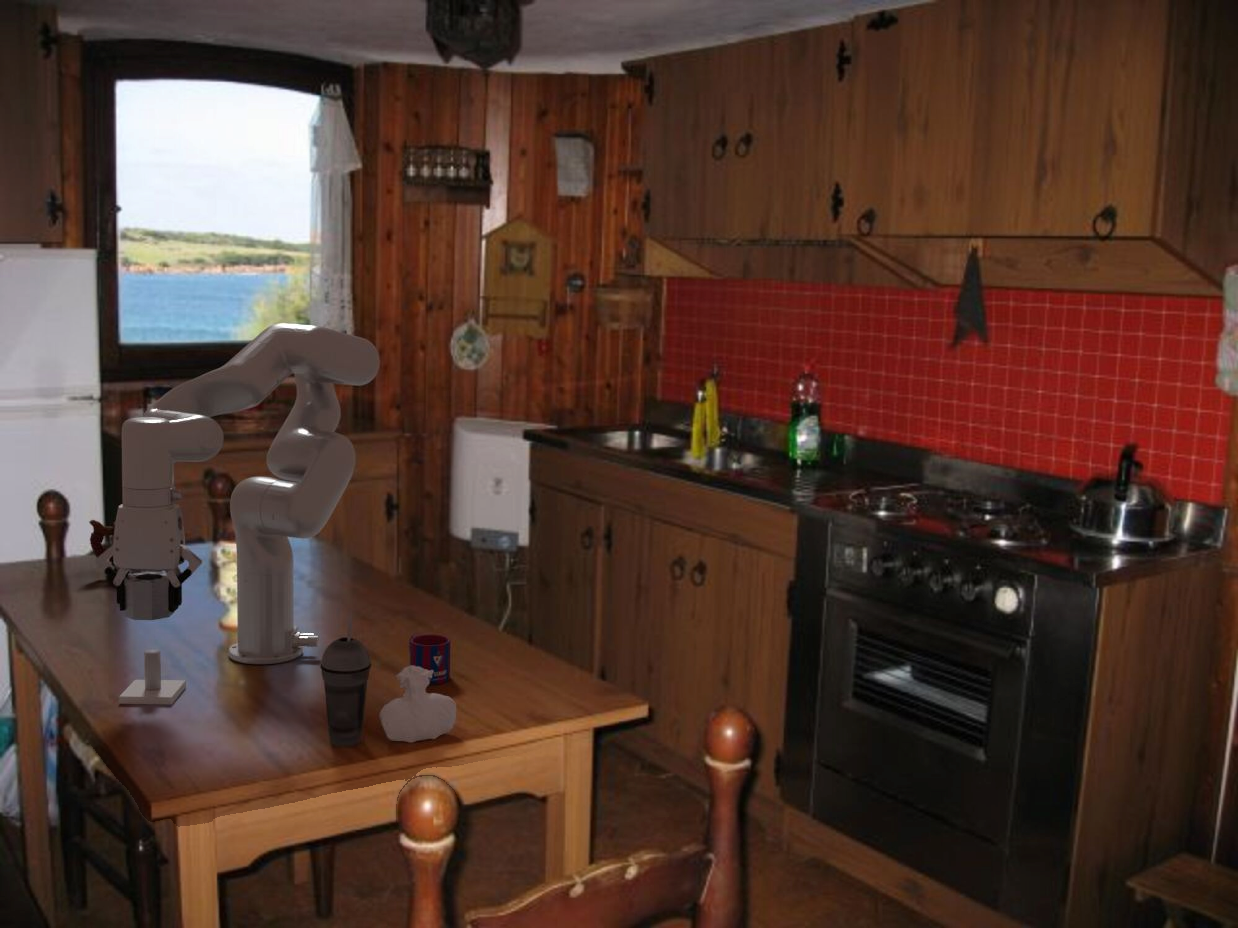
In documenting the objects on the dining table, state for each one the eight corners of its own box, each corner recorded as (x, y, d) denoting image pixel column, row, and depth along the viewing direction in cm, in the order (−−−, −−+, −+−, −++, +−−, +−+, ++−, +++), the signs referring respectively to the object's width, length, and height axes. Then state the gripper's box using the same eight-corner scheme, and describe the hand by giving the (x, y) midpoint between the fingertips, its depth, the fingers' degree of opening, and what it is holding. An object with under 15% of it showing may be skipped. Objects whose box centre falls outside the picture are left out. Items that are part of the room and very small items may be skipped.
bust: (453, 742, 196) (437, 672, 200) (469, 726, 190) (452, 654, 194) (377, 754, 190) (362, 682, 194) (391, 738, 184) (376, 664, 189)
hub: (177, 609, 206) (177, 572, 205) (165, 620, 199) (165, 582, 198) (134, 607, 205) (133, 571, 204) (120, 619, 199) (119, 581, 198)
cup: (418, 687, 213) (419, 647, 212) (397, 669, 222) (397, 631, 220) (456, 681, 216) (456, 642, 215) (433, 664, 225) (433, 627, 224)
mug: (175, 577, 276) (161, 510, 272) (106, 595, 268) (91, 527, 265) (162, 565, 285) (148, 500, 281) (95, 582, 278) (80, 516, 274)
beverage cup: (349, 727, 194) (349, 599, 191) (381, 740, 189) (382, 609, 186) (309, 740, 188) (309, 608, 185) (341, 754, 184) (342, 618, 181)
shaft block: (185, 687, 209) (185, 644, 208) (171, 704, 201) (170, 660, 200) (135, 686, 208) (134, 643, 207) (119, 703, 200) (118, 659, 199)
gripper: (211, 495, 204) (211, 604, 206) (99, 491, 203) (101, 601, 205) (199, 503, 196) (199, 617, 199) (82, 499, 195) (84, 613, 198)
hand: (149, 608), depth 202 cm, fingers closed on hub, 6 cm apart
